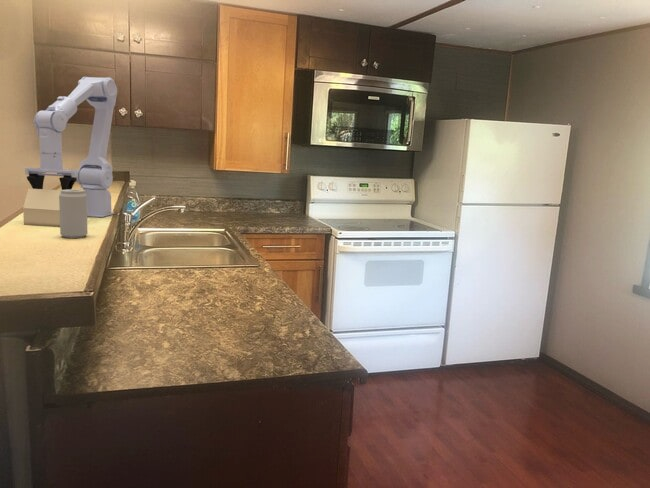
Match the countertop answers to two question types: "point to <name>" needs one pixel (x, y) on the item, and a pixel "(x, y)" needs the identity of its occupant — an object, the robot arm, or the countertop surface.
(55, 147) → the robot arm
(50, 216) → the carton
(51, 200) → the flap
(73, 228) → the beverage can
